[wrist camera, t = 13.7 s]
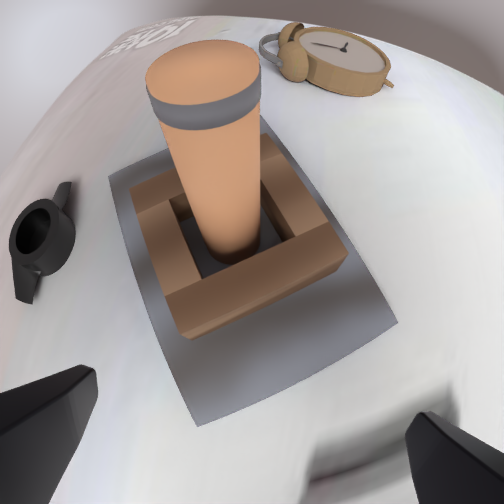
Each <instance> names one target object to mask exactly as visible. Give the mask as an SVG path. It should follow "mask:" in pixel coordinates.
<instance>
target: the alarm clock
mask: <svg viewBox="0 0 504 504" xmlns="http://www.w3.org/2000/svg"><path fill="white" fill-rule="evenodd" d="M274 40H278V45H279V48H280V50H279V52H278V56H276V55H274V54H272V53H270V52H268V51H267V50H265V49H264V47H263V45H264V44H265V43H267V42H270V41H274ZM259 52H260V54H261V55H262V56H263V57H264V58H265V59H267V60H269V61H271V62H273V63H275V64H276V66H278V67H279V69H280V72H281V73H282V75H283V76H284V77H286V78H287V79H288V80H291V81H294V82H302V81H304V80H305V79H307V80H308V81H310V82H311V83H313V84H315V85H317V86H319V87H322V88H324V89H326V90H328V91H332V92H336V93H339V94H342V95H348V96H356V97H364V96H372V95H373V94H375V93H377V92H379V91H380V90H381V88H382V86H383V83H384V84H386V85H387V86H389V87H391V88H393V86H394V85H393V84H392V83H391V82H390V81H388V80H387V79H385V78H386V76H387V74H388V72H389V70H390V68H391V65H390V60H389V59H388V57H387V56H386V55H385V53H384V52H383V51H381V50H380V49H379V48H378V47H377V46H375V45H374V44H372V43H371V42H369V41H367V40H365V39H364V38H361V37H359V36H357V35H354V34H352V33H349V32H346V31H342V30H339V29H334V28H327V27H309V28H304V25H303V24H302V23H298V22H294V23H290V24H288V25H286V26H285V27H284V28H283V29H282V30H281V32H278V33H276V34H270V35H266V36H264V37H263V38H262V39H261V40H260V42H259Z"/></svg>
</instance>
